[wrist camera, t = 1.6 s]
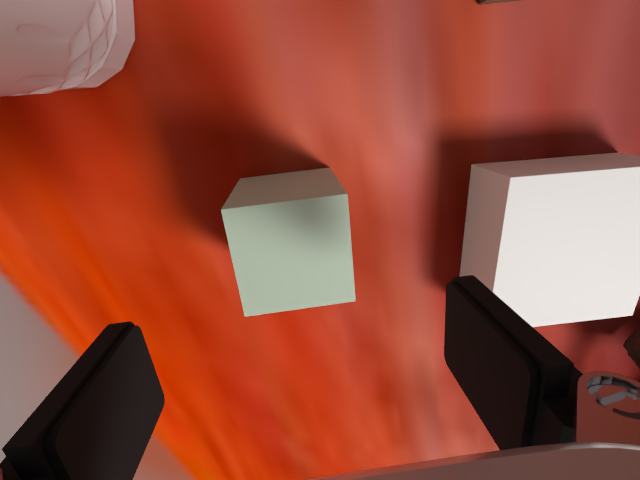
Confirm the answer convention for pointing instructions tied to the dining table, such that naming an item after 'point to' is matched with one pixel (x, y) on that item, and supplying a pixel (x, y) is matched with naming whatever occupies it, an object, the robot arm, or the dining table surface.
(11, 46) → the white cup
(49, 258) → the dining table surface
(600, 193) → the base slab
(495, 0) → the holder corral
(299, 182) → the green block
